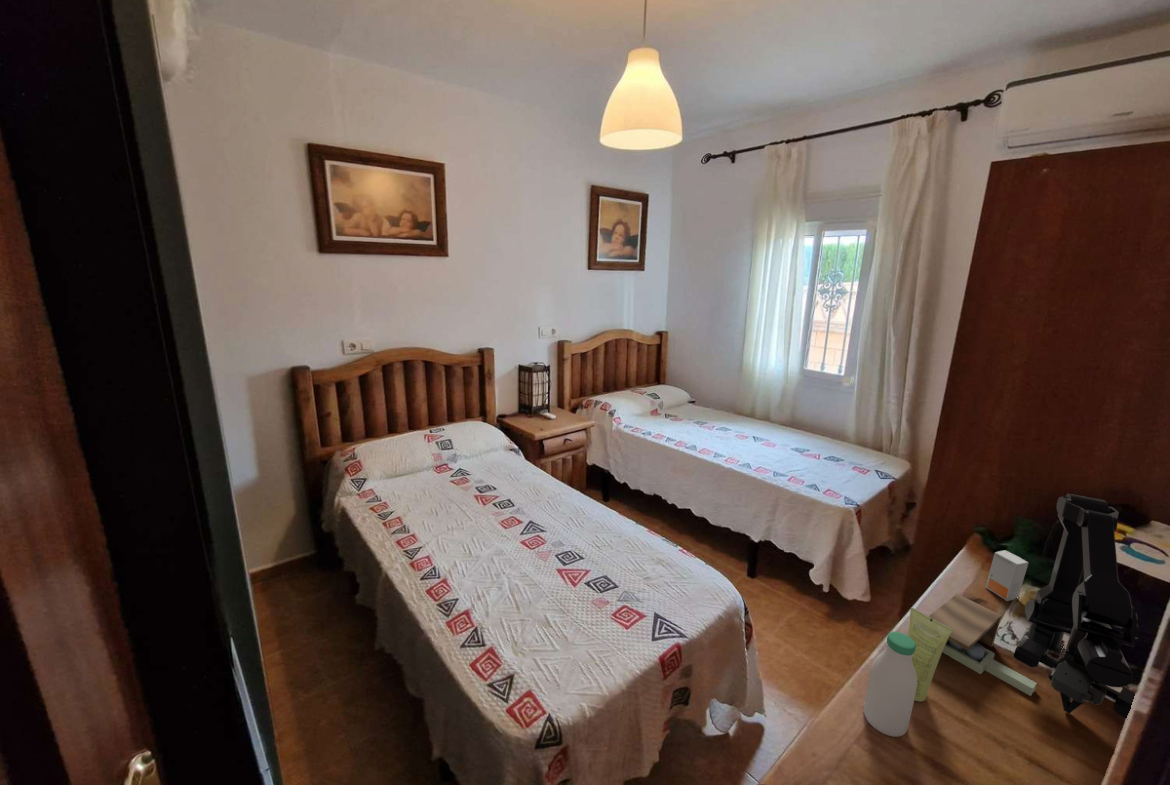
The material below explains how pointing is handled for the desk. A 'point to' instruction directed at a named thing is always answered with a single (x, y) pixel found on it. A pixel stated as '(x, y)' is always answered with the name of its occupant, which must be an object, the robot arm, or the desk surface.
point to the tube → (926, 648)
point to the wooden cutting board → (968, 621)
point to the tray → (993, 669)
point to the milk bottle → (892, 687)
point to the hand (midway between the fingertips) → (1067, 711)
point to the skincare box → (1006, 575)
